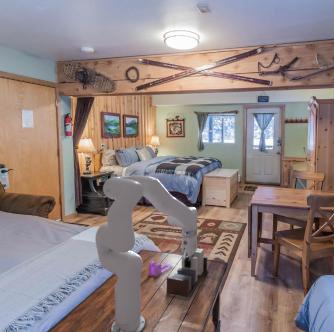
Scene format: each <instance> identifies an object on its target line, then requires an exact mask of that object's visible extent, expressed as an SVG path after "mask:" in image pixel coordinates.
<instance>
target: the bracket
mask: <svg viewBox="0 0 334 332" xmlns="http://www.w3.org/2000/svg"><path fill="white" fill-rule="evenodd" d="M171 268H172V265H171V264H170V263H164V264H161V263H157V262H155V261H153V260H151V261H150V262H149V264H148V276H149V277H153V276H155V277H157V276H159V275H161V274H163V273H164V272H167V271H168V270H169V269H171Z"/></svg>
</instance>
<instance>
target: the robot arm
mask: <svg viewBox="0 0 334 332" xmlns="http://www.w3.org/2000/svg"><path fill="white" fill-rule="evenodd" d="M102 191H103V194H104V195H105V197H107V198H108V199H111V200H114V201H113V202H112V204H111V205H110V207H109V209H108V211H107V214H106V222H105V223H103V224H101V225H100V226H99V227H98V228H97V230H96V233H95V237H94V238H95V239H94V241H95V245H96V249H97V251H96V252H97V255H98V260H99V263H100V266H101V267H102V268H103V269H104V270H105V271H107V272H110V273H112V274H114V275H116V276H117V281H116V282H115V284H114V290H113V291H114V314H115V316H114V322H113V323H112V325H111V326H110V327H111V328H110V330H111V331H110V332H142V331H143V330H144V329H145V327H146V326H145V325H146V320H145V317H144V316H143V315H142V300H141V299H142V295H141V290H142V289H141V277H142V271H143V267H144V263H143V258H142V257H141V255H139V254H138V253H136V252H134V251H132V249H133V248H135V244H136V236H135V230H134V223H133V222H134V221H133V211H134V209H135V207H136V206H137V204H138V203H139V201H141V199H142V198H143V197H144V198H145V199H146V200H147V201H148V202H149V203H151V205H152V206H153V207H154V208H155V209H156V210H157V211H159V212H161V213H162V214H164V215H167V217H166V221H167V223H168V225H170V226H172V227H176V228H180V229H181V236H182V240H181V256H183V259H184V267H186V268H190V267H191V260H190V256H193V257H194V253H195V251H196V250H197V248H198V209H197V208H196V207H193V206H187V205H186V204H184V203H183V202H182V201H180V200H179V199H177V198H176V197H174V196H173V195H172V194H171V193H170V192H169V191H168V190H167V188H166V187H165V186H164V185H163V184H162V182H161V181H160V180H159V179H158V178H157V177H154V176H153V177H152V176H148V175H142V174H141V175H140V174H135V175H123V176H112V177H110V178H108V179H107V180H106V181H105V182H104V184H103V185H102ZM186 256H188V257H186Z"/></svg>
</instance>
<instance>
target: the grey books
mask: <svg viewBox="0 0 334 332" xmlns="http://www.w3.org/2000/svg"><path fill="white" fill-rule="evenodd" d="M171 277H173V278H178V279H184V280H189V291H190V290H191V286H194V285H195V279H196V271H195V270H189V269H183V268H182V267H179V268H178V269H177V270H176V273H174V274H173V275H172V276H171Z"/></svg>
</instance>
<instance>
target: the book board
mask: <svg viewBox="0 0 334 332" xmlns="http://www.w3.org/2000/svg"><path fill="white" fill-rule="evenodd" d="M207 271H208V256H205V255H204V261H203V272H202V274H201V275H197V282H196V283H195V285H194V286H191V290H190V291H189V280H184V279H178V278H173V277H172V276H167V277H166V294H168V295H172V296H177V297H183V298H189V297H190V296H191V294H192V293H193V291H194V289H195V288H196V287H197V285H198V284H199V282H201V280H202V278H203V277H204V275H205V274H206V273H207Z"/></svg>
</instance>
